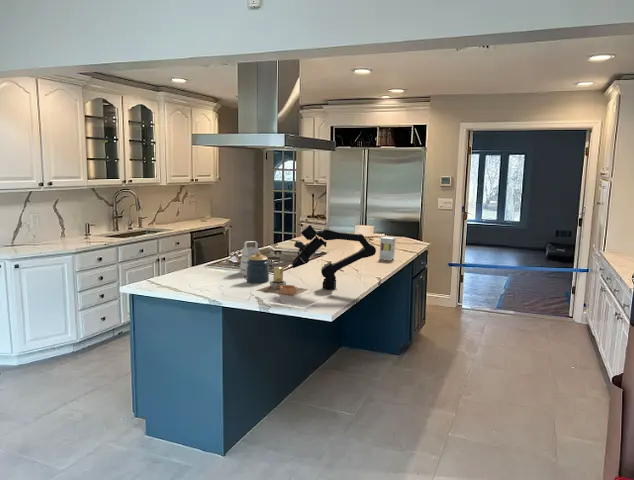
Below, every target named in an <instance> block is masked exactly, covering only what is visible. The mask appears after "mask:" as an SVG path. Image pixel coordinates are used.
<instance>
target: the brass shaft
mask: <svg viewBox="0 0 634 480" xmlns="http://www.w3.org/2000/svg"><path fill="white" fill-rule="evenodd" d="M273 281H274V283H283V281H284V267H283V266H274V267H273Z"/></svg>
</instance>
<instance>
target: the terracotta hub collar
mask: <svg viewBox="0 0 634 480" xmlns="http://www.w3.org/2000/svg"><path fill="white" fill-rule="evenodd" d="M296 288H298V287H297V286H296V285H291V284H286V285H282V286H280V293H281V294H280V295H282V294H295V293H296Z"/></svg>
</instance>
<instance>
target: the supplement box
mask: <svg viewBox="0 0 634 480" xmlns="http://www.w3.org/2000/svg"><path fill="white" fill-rule="evenodd" d="M395 249H396V237H390V236H382V237H380V244H379V257H378V258H379V259H385V260H392V259H394V260H395V252H396V251H395ZM392 261H393V260H392Z"/></svg>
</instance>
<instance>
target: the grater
mask: <svg viewBox="0 0 634 480" xmlns="http://www.w3.org/2000/svg"><path fill="white" fill-rule="evenodd" d="M248 243H255V245H254V246H253V247H251V246H250V247H248V245H247V244H248ZM243 246H244V247H242V251H241V252H242V253H241V259H240V266H239V274H240V275H241V274H242V275H244V276H246V277H247V265H248V264H247V261H248V260H249V259H248V258H249V257H250V256H252V255H256V253H257V252H260V249H259V248H258V246H259V243H258V242H257V241H255V240H253V241H252V240H249V241H248V240H246V241H244V244H243Z"/></svg>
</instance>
